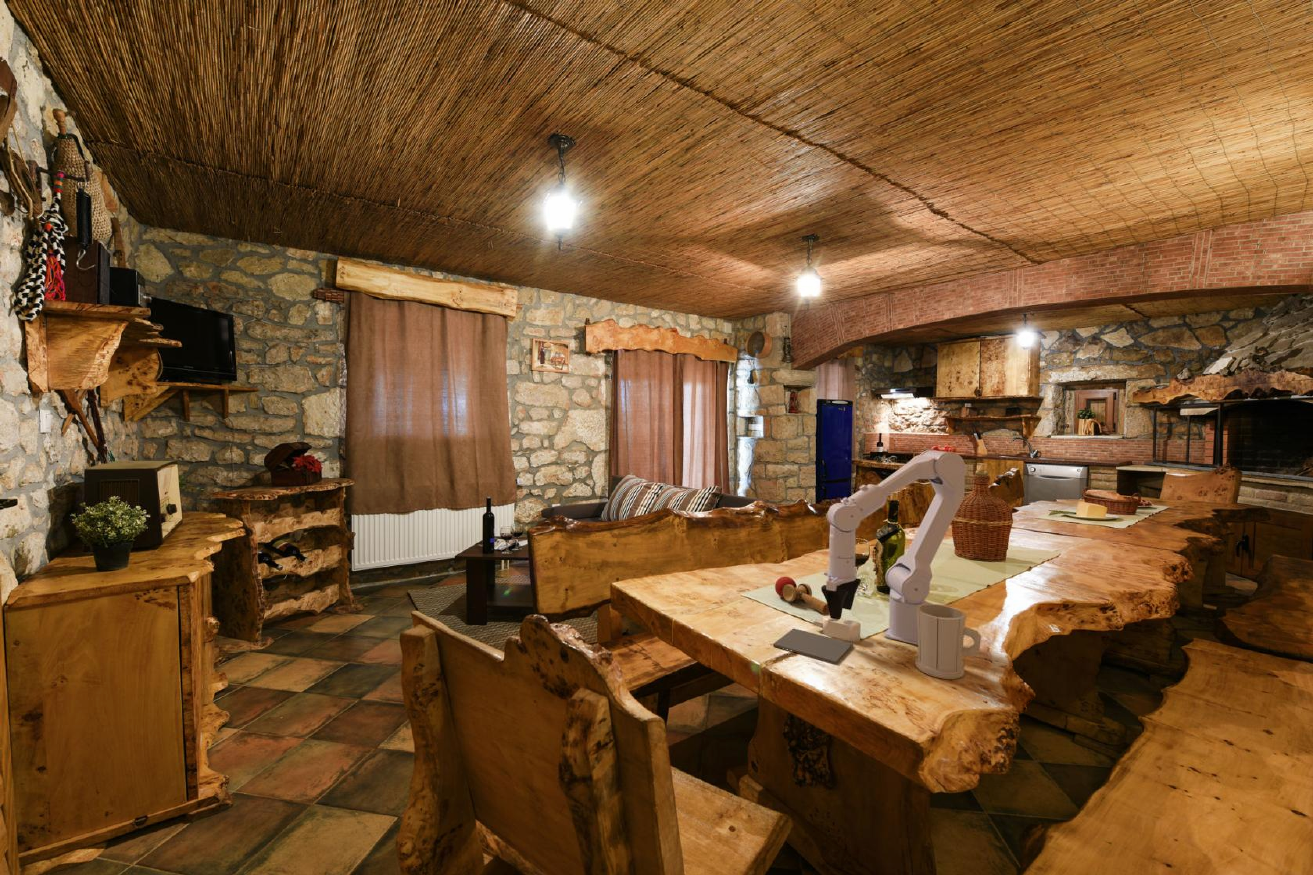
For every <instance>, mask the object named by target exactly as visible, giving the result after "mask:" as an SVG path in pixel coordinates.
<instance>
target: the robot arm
mask: <svg viewBox="0 0 1313 875" xmlns="http://www.w3.org/2000/svg"><path fill="white" fill-rule="evenodd" d="M968 470H969V469H968V467H967V465H966V463H965V461H964V459H963V457H962V456H961V455H960V454H958V453H957V452H954V451H941V450H935V449H927V450H925V451H922V452H921V453H920V454H916V456H913V458H912V459H910V460H909V461H908V462H907V463H905V464H904V465H903V466H901V467H900V468H898V470H896V471H895V472H893V473H892V474H890V475H889V476H888V477H887V478H885V479H883V480H882V481H881V482H879V483H877V484H876V485H875V484H872V483H869V484H867V485H866V484H862V485H861V486H859V487H858V488H859V490H858V491H856V492H855V493H854V494H852V495H851V496H849V497H847V496H845V497H843V498H842V502H837V503H834V504H832V505H830V507H829V508H828V511H827V513H825V516H826V517H825V518H826V520H827V522H828V523H829V536H828V537H829V546H828V547H829V548H828V549H829V550H828V552H829V553H828V554H829V555H828V570H825V571H823V575H824V576H827V580H826V582H825V584H823V585H822V586H821V587H820V588H821V590H820V591H821V593H822V594H823V596H824V598H825V602H826V603H827V605H828V609H829V613H828V614H829V616H830V617H831V618H833V619H838V620H840V618H842V614H843V610H848V611H851V610H852V608H853V605H854V599H855V597H856V592H857V590H858V588H859V586H860V585H861V583H862V580H861V579H860V578H856V577H857V568H856V543H857V542H856V530H857V529H858V528H859V526H860V525H861V521H862V520H864V519H865V518H867V517H869V516H870V515H871V514H873V513H875V512H876V511H877V510H879V509H880V508H883V507H884V506H885V505H886V502H887V498H888V497H889V496H892V494H894V493H896V492H898V491H899V490H901V489H903V488H905V487H907V486H908V485H910V484H912V483H913V482H915V481H917V480H928V481H929V483H930V484H931V486H932V489H933V490H934V492H935V494H934V496H933V499H932V501H931V503H930V505H929V507H928V510H927V511H926V513H925V515H924V517H923V519H922V521H921V523H920V525H919V526H918V529H917V531H916V533H915V535H914V536H913V539H912V541H911V543H910V545H909V547H908V549H907V551H906V552H905V554H903V555H901V556H899V557H898V558H897V560H896V562H895V563H894V564H893V565H892V566H890V567H889V568H888V569H887V571H886V573H885V576H884V577H885V582H886V585H887V586H888V587H889V588H890V591H889V605H888V606H889V608H888V609H889V614H888V615H889V617H888V628H887V630H886V631H885V632H884V634H883V637H884V638H888V639H892V640H896V641H901V642H903V643H904V642H905V643H909V644H912V645H917V646H918V627H917V612H916V607H917V606H918V605H922V604H934V603H932V602H929V601H926V599H927V598H928V596H929V594H930V588H931V586H930V584H931V581H932V578H933V573H932V568H931V565H932V562H933V561H934V558H935V556H936V554H937V552H938V549H940V547H941V544H942V542H943V540H944V538H945V536H946V535H947V532H948V530H949V528H950V526H951V525H952V522H953V520H954V518H955V516H956V514H957V512H958V510H959V509H960V506H961V504H962V502H963V501H964V497H965V496H966V495H965V492H966V491H965V490H966V489H965V488H966V484H965V482H966V481H965V479H966V478H965V476H966V474H967V472H968Z"/></svg>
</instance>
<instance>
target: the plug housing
mask: <svg viewBox="0 0 1313 875" xmlns="http://www.w3.org/2000/svg"><path fill="white" fill-rule="evenodd" d="M812 621H813V625H812V626H814V627H819V628H822V634H823V636H826V637H829V638H833V639H837V640H841V641H845V642H849V643H859V642H860V641H861V623H860V622H858V621H856V620H851V619H849V618H848V619H847V618H843V617H841V618H840V620H838V619H833V618H831V617H830V615H824V616H822V619H818V618H815V619H814V620H812Z"/></svg>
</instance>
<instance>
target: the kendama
mask: <svg viewBox="0 0 1313 875" xmlns="http://www.w3.org/2000/svg"><path fill="white" fill-rule="evenodd" d="M774 589H775V592H776V594H777V595H778V596H779V597H780V598H782V599H785V601H786V602H794V601H795V599H799V600H800V601H802V602H805V603H806V604H808V605H809V606H811V607H812V608H814V609H815V610H817V611H819V612H820V613H821V614H822V615H824V616H827V615H828V614H829V609H828V605H827V602H826V601H823V600H820V598H819V599H818V598H816V597H814V596H812V595H813V590H812V588H811V586H810V585H809V584H808V583H803V582H802V583H800V584H798V585H797V583H796V581H795V580H794V579H793V578H792V577H790V576H781V577H779V578H778V579H777V580H776V582H775V585H774Z"/></svg>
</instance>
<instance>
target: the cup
mask: <svg viewBox="0 0 1313 875" xmlns="http://www.w3.org/2000/svg"><path fill="white" fill-rule="evenodd" d="M916 612H917V627H918V645H917V655H916V656H915V658H914V659H915V661H914V662H915V663H914V664H915V666H916V668H917V669H918V670H920V671H921V672H922V673H923V674H925V673H926V675H928V676H931V677H933V678H938V679H940V680H941V679H942V680H943V679H944V680H957V679H959V678H961V677H963V676H964V675H965V665H964V664H963V656H970V657H973V656H976V655H977V654H978V653H979V652H980V648H981V641H982V640H981V639H982V635H981V633H980V632H979V630H976V629H973V628H971V627H968V626H966V618H967V616H966V615H967V614H966V613H965V612H963V611H962V610H960V609H958V608H957V607H953V606H950V605H945V604H940V603H938V604H937V603H933V604H922V605H918V606H917V607H916ZM964 636H967V637H970V638H971V639H972V641H973V644H972V645H971V646H969V647H964Z"/></svg>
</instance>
